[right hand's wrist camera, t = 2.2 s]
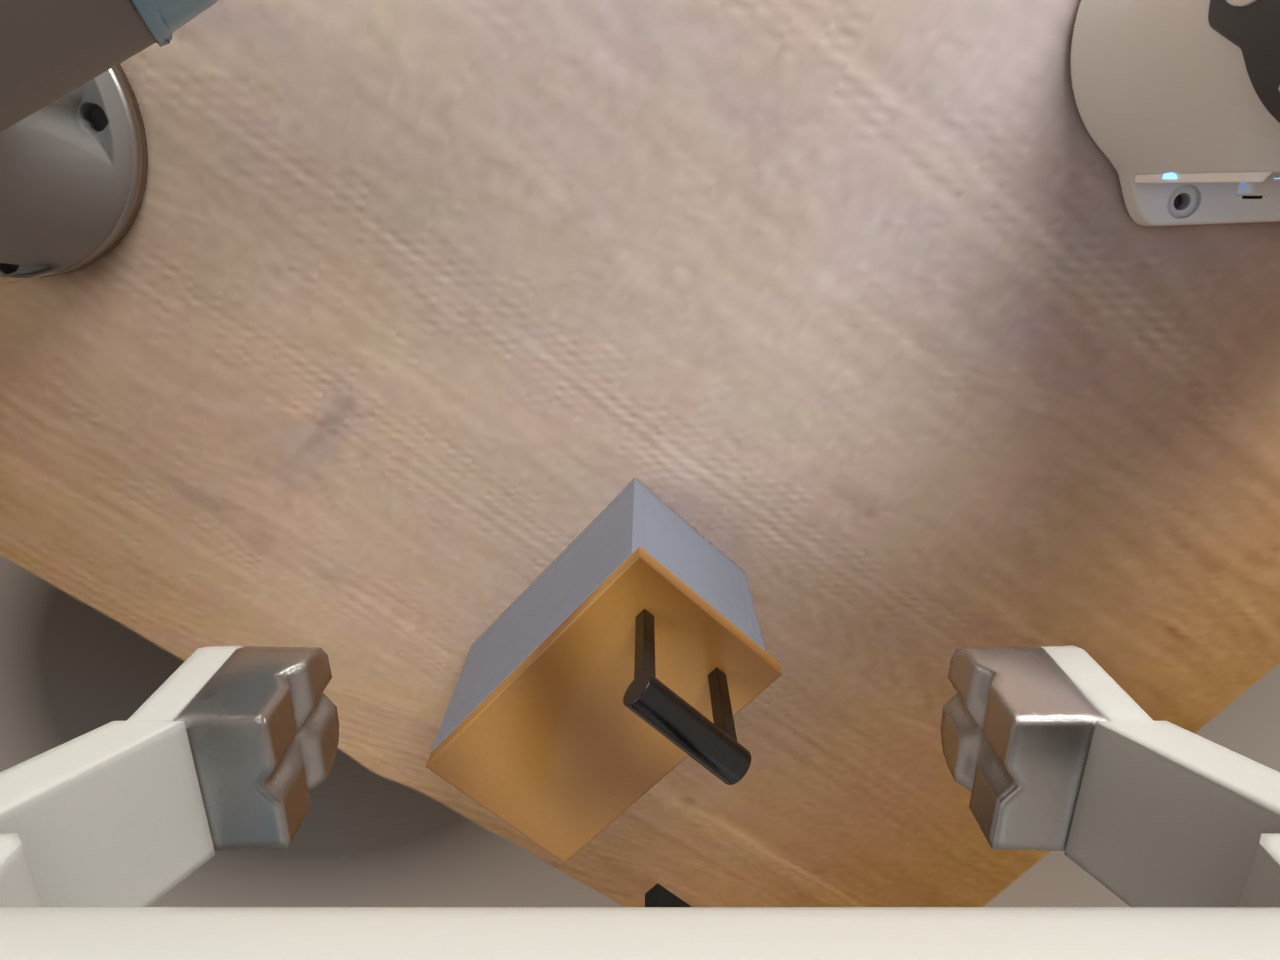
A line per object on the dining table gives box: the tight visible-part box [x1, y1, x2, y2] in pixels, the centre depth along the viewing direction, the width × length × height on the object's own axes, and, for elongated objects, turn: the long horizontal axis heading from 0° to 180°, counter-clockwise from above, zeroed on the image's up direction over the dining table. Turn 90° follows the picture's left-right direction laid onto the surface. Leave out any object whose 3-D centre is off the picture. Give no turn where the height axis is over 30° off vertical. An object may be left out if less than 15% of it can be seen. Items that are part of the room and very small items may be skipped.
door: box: [426, 547, 781, 862], centre depth 38 cm, size 17×10×8 cm, turn 137°
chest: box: [432, 479, 766, 751], centre depth 47 cm, size 16×10×11 cm, turn 137°
